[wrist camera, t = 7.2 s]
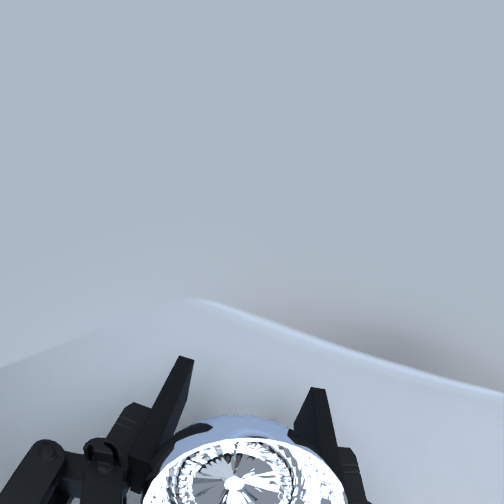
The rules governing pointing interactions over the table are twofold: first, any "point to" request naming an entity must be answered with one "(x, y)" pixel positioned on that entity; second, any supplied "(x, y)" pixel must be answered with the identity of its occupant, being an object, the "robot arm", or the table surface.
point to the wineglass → (240, 466)
